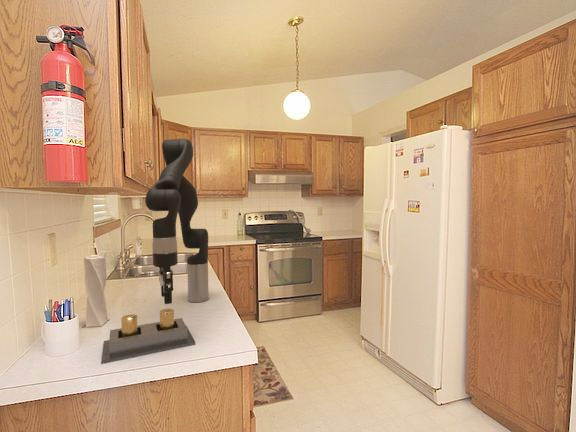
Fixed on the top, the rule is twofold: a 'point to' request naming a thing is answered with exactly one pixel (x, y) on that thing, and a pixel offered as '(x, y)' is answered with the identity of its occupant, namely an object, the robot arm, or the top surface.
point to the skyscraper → (95, 290)
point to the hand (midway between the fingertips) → (166, 299)
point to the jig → (144, 339)
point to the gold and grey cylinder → (166, 319)
